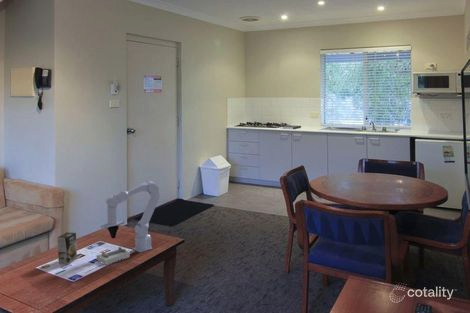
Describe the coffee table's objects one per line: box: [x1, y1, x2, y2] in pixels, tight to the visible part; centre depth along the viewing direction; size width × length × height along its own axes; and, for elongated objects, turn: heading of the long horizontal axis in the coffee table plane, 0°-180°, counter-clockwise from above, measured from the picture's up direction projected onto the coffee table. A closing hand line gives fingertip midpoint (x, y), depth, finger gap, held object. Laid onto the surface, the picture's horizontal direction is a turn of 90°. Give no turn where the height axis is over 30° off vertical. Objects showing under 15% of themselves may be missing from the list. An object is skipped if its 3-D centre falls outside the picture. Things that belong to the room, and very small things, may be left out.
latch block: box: [96, 247, 131, 265], centre depth 236 cm, size 16×10×5 cm, turn 138°
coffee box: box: [57, 232, 78, 265], centre depth 231 cm, size 9×6×16 cm
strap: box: [103, 248, 124, 257], centre depth 236 cm, size 12×3×2 cm, turn 138°
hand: (113, 237), depth 242 cm, fingers closed
